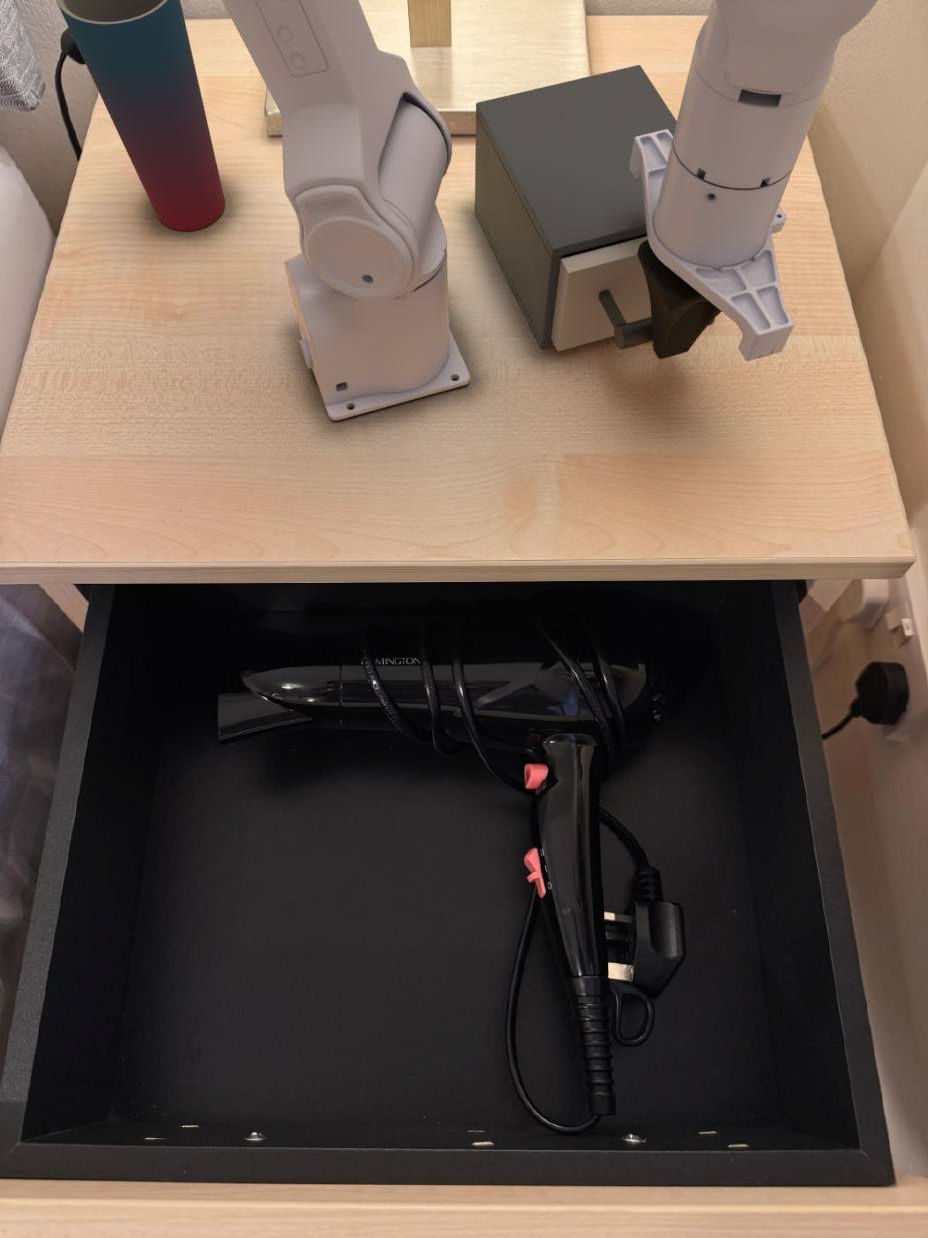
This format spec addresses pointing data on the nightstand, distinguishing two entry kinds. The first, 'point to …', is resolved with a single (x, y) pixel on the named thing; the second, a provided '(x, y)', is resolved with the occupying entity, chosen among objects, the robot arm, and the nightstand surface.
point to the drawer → (603, 298)
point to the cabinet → (561, 177)
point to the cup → (152, 101)
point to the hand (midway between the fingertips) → (670, 350)
